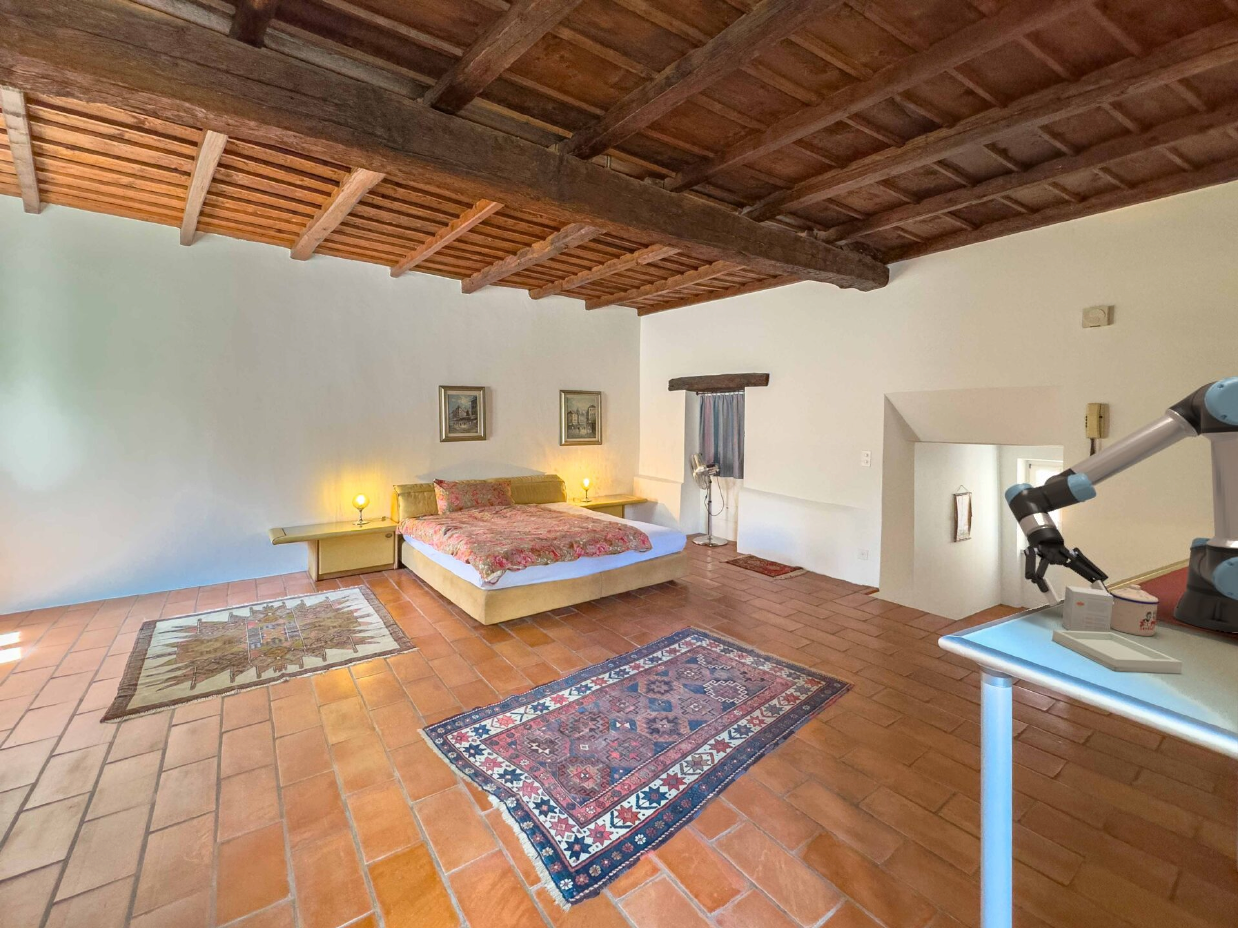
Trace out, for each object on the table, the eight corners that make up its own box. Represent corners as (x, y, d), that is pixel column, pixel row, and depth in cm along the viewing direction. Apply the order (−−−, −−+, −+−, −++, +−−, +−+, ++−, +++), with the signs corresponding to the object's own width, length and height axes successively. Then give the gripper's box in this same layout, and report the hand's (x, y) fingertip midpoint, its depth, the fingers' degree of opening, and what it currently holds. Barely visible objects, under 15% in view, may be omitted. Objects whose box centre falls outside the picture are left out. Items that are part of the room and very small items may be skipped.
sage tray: (1110, 642, 129) (1111, 632, 129) (1180, 673, 113) (1182, 661, 113) (1052, 640, 129) (1053, 629, 128) (1114, 670, 113) (1115, 659, 112)
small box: (1100, 630, 137) (1105, 590, 136) (1109, 638, 132) (1114, 596, 131) (1061, 624, 140) (1065, 584, 139) (1068, 631, 135) (1072, 590, 134)
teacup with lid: (1148, 639, 132) (1153, 592, 131) (1100, 626, 140) (1105, 582, 139) (1164, 631, 138) (1169, 586, 137) (1117, 619, 146) (1122, 577, 145)
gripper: (1077, 542, 153) (1120, 613, 139) (989, 538, 153) (1023, 609, 139) (1096, 528, 147) (1143, 600, 133) (1004, 523, 147) (1042, 595, 133)
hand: (1082, 605), depth 136 cm, fingers open, 13 cm apart
